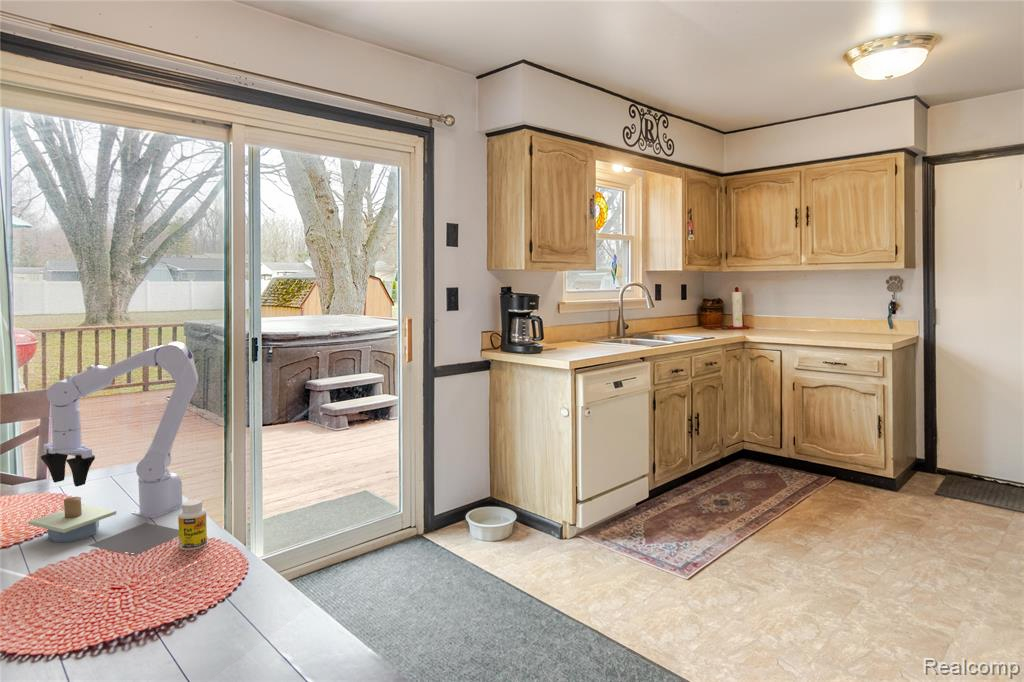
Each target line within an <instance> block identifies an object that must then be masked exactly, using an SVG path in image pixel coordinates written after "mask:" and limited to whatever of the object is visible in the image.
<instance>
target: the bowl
mask: <svg viewBox="0 0 1024 682" xmlns="http://www.w3.org/2000/svg"><path fill="white" fill-rule="evenodd" d="M99 527H100V520H99V521H96V522H93V523H90V524H87V525H85V526H82V527H79V528H76V529H73V530H71V531H68V532H65V533H62V532H58V531H54V530H49V529H47V535H48V537H47V538H48V539H50V540H51V541H52V542H56V543H68V542H74V541H80V540H83V539H86V538H89V537H92V536H93V535H95V534H96V533H97V532H98V529H99Z"/></svg>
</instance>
